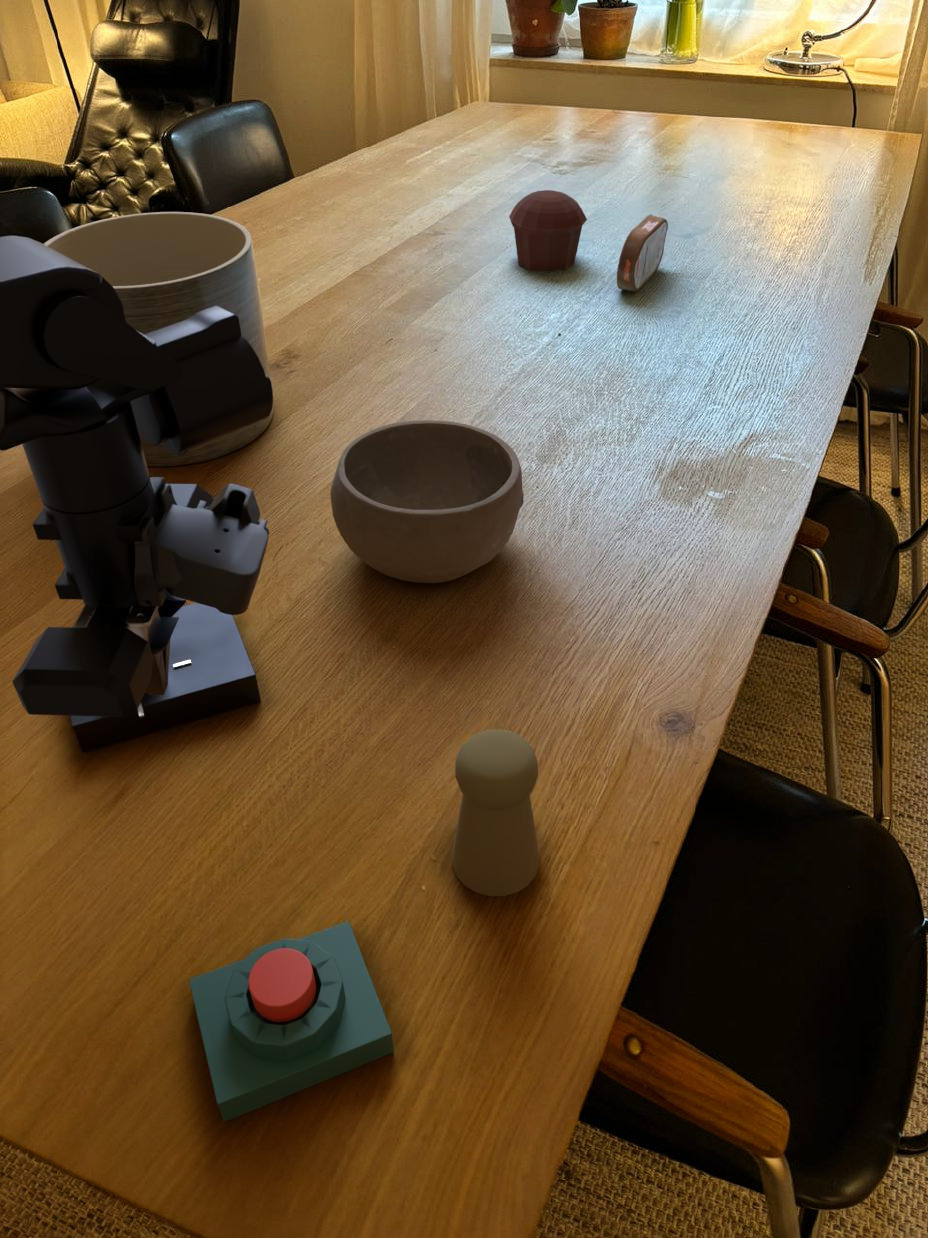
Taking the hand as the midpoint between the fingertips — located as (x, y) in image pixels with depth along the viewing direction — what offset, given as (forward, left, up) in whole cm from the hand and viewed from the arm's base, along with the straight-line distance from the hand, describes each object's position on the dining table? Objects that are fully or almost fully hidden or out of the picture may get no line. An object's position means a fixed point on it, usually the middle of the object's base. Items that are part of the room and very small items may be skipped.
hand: (158, 691), depth 64 cm
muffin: (+71, +86, -12) cm, 112 cm away
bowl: (+27, +23, -12) cm, 37 cm away
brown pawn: (+18, -12, -12) cm, 25 cm away
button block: (+2, -18, -12) cm, 22 cm away
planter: (+10, +59, -12) cm, 61 cm away
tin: (+80, +73, -12) cm, 109 cm away
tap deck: (0, +15, -12) cm, 19 cm away
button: (+2, -18, -8) cm, 20 cm away
